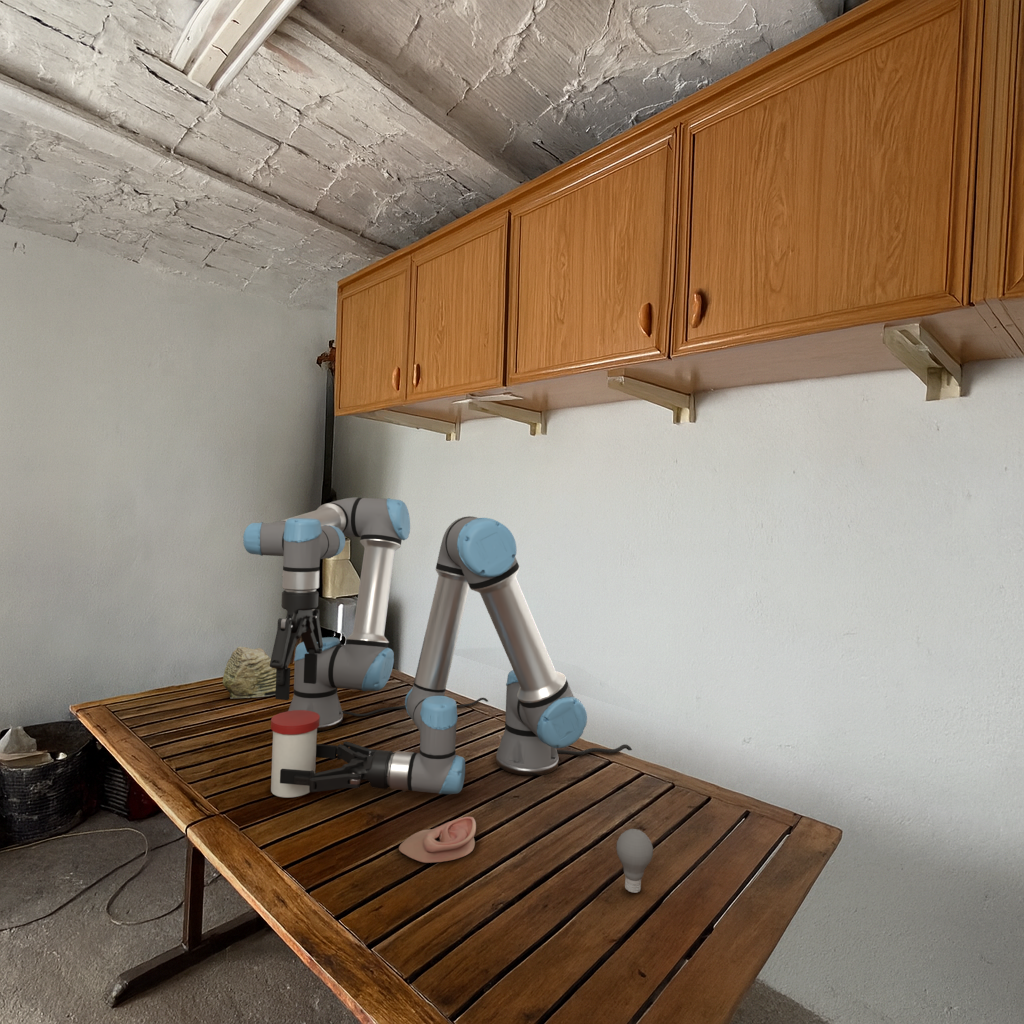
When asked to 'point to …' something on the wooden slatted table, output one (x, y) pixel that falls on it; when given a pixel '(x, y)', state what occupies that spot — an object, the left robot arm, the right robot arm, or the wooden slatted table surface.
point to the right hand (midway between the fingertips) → (294, 762)
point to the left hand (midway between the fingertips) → (296, 690)
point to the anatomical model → (441, 842)
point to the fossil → (249, 674)
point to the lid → (295, 722)
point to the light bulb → (634, 857)
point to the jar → (292, 760)
